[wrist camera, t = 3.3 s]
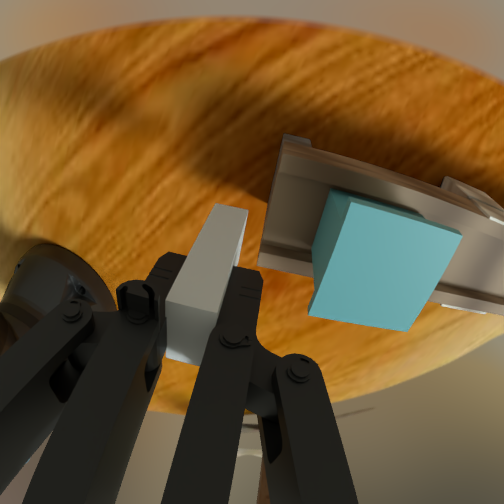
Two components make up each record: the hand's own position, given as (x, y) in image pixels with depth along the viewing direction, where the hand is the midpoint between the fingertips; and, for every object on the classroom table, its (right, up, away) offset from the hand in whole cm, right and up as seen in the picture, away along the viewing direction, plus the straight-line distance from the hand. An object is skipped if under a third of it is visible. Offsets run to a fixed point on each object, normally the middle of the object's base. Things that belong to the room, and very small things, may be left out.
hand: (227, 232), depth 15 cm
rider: (+8, 0, +3) cm, 9 cm away
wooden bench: (+19, +2, +9) cm, 21 cm away
